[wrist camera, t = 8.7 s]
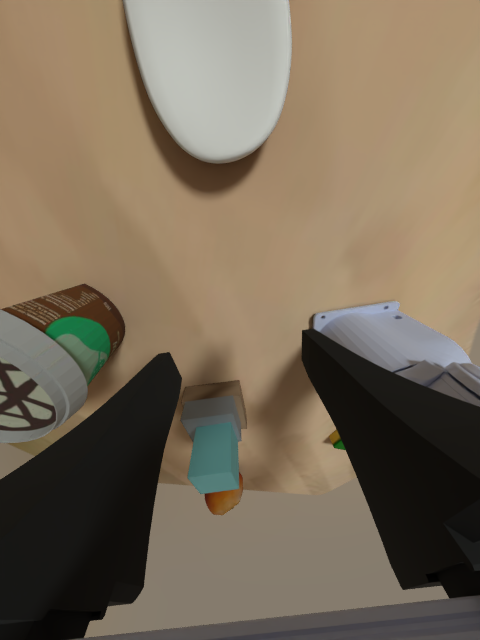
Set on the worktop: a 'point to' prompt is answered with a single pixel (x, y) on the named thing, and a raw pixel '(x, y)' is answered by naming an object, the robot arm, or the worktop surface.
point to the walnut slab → (218, 395)
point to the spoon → (214, 70)
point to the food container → (52, 358)
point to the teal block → (214, 459)
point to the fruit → (224, 499)
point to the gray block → (210, 414)
